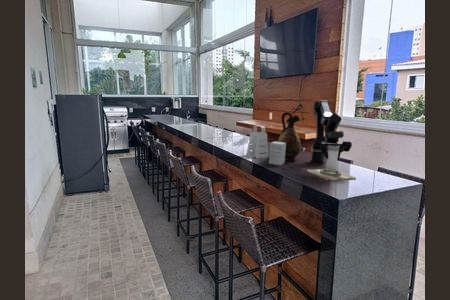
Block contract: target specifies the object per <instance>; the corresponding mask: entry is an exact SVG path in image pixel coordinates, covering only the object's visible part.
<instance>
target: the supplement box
mask: <svg viewBox="0 0 450 300" xmlns="http://www.w3.org/2000/svg"><path fill="white" fill-rule="evenodd" d="M269 146H270V147H269V158H268V164H270V165H275V166H282V165H284V164H285V161H286V160H285V150H286V143H284V142H277V141H276V140H275V141H272V142H270V145H269Z"/></svg>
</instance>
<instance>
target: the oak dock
mask: <svg viewBox="0 0 450 300" xmlns="http://www.w3.org/2000/svg"><path fill="white" fill-rule="evenodd" d="M306 172H308V173H310V174H312V175H314V176H316V177H318V178H321V179H323V180H325V181H327V182H328V180H330V181H344V179H350V180H354V179H353V178H356V176H352V175H350V174H349V173H345V172H342V171H340V170H337V169H336V172H329V171H326V168H321V169H306Z"/></svg>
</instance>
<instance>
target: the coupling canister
mask: <svg viewBox="0 0 450 300" xmlns="http://www.w3.org/2000/svg"><path fill="white" fill-rule="evenodd" d="M327 152H328V159H327V158H326V162H325V163H326V164H325V169H326V171H329V172H336V170H337V166H338V152H339V146H335V145H329V146H328V150H327Z"/></svg>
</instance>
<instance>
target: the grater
mask: <svg viewBox="0 0 450 300" xmlns="http://www.w3.org/2000/svg"><path fill="white" fill-rule="evenodd" d="M258 127H260V128H261V130H260V131H258ZM249 135H250V136H249V141H248V145H247V149H246V154H245V156H248V157H252V158H255V157H256V158H257V159H261V158H260V157H262V158H268V157H267V156H269V145H268V133H267V132H266V126H265V125H259V124H257V125H254V126H253V127H252V131H250V134H249Z"/></svg>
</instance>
